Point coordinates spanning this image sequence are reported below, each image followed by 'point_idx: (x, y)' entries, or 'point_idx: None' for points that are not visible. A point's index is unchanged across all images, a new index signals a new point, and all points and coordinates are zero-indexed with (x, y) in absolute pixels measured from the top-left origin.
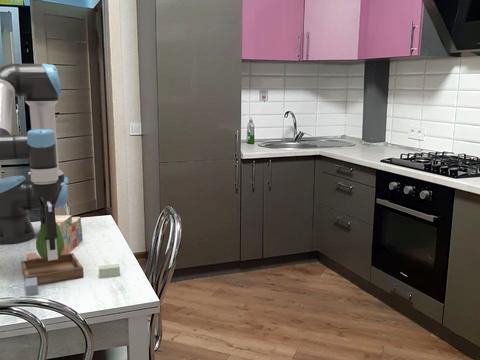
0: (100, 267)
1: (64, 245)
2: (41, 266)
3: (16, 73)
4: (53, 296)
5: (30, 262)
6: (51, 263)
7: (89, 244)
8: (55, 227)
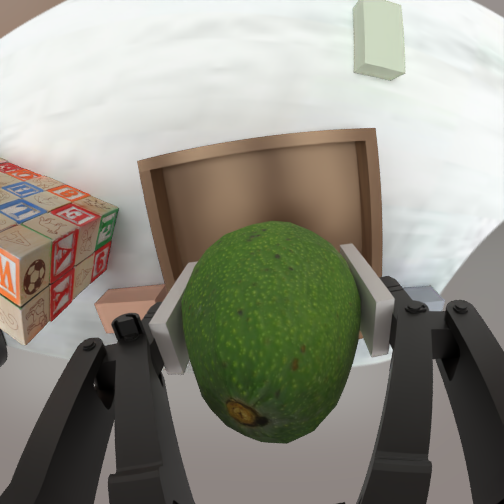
0: (385, 61)
1: (61, 203)
2: None
3: None
4: (465, 245)
5: None
6: (176, 246)
7: (9, 121)
8: (499, 353)
